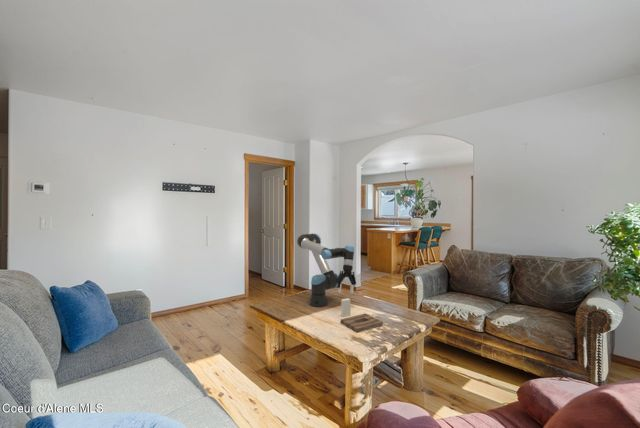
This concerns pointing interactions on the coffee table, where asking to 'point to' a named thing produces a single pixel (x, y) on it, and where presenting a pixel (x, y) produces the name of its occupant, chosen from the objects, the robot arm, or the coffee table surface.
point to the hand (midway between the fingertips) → (345, 292)
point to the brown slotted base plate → (357, 326)
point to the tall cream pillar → (345, 307)
